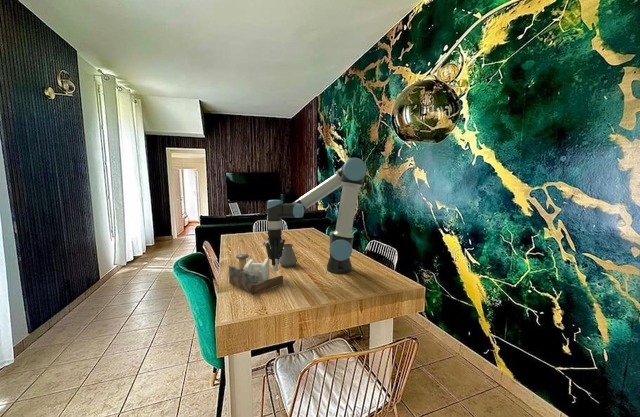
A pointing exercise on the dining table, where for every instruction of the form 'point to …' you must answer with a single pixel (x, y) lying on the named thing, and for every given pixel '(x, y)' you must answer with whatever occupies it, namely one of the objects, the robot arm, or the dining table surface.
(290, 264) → the coffee pot
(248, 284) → the notched bay
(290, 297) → the dining table surface
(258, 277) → the cable organizer
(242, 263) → the mushroom drawer knob
